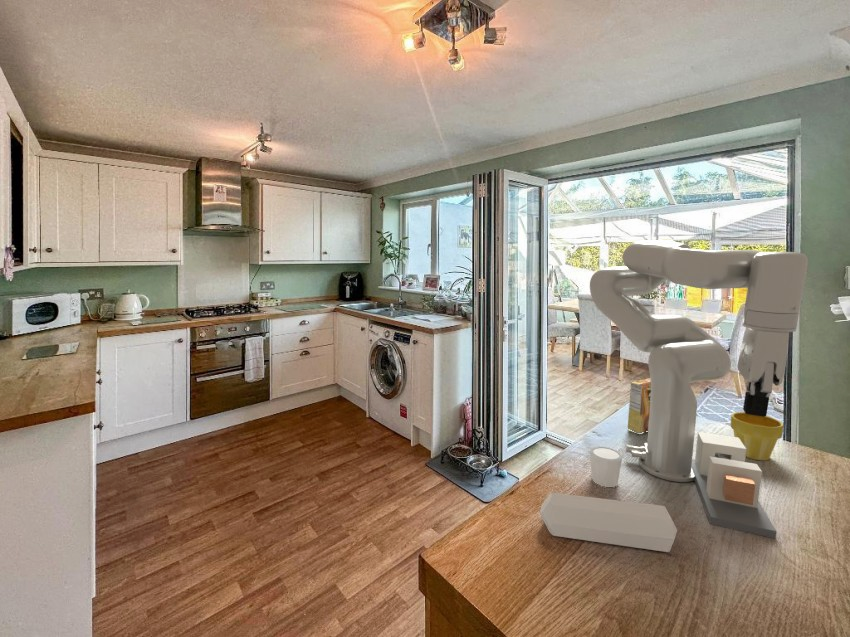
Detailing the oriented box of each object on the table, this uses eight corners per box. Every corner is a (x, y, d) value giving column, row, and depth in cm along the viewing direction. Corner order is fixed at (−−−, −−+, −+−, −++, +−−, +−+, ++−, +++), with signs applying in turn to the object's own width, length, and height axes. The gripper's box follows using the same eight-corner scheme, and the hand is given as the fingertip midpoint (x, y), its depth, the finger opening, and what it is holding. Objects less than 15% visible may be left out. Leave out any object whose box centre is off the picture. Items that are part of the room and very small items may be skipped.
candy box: (645, 424, 122) (649, 377, 120) (659, 430, 118) (663, 381, 116) (626, 430, 118) (629, 381, 116) (639, 436, 114) (643, 385, 112)
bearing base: (775, 538, 73) (781, 491, 71) (710, 523, 77) (714, 479, 75) (737, 472, 94) (742, 435, 93) (688, 464, 99) (691, 428, 97)
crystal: (541, 524, 72) (689, 545, 66) (540, 487, 77) (677, 503, 72) (539, 542, 76) (677, 562, 71) (538, 505, 82) (667, 522, 76)
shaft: (752, 505, 76) (755, 484, 76) (725, 499, 78) (727, 479, 77) (726, 457, 94) (728, 440, 93) (704, 454, 96) (705, 437, 95)
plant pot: (736, 441, 110) (740, 408, 109) (784, 456, 102) (789, 420, 100) (721, 452, 104) (724, 417, 103) (770, 468, 96) (775, 431, 94)
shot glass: (583, 473, 95) (584, 446, 94) (610, 472, 96) (612, 445, 95) (598, 490, 88) (599, 461, 87) (627, 488, 89) (629, 459, 88)
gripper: (735, 312, 80) (722, 397, 83) (753, 325, 67) (738, 425, 70) (783, 315, 76) (768, 403, 80) (812, 330, 63) (793, 434, 67)
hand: (754, 413), depth 75 cm, fingers closed
